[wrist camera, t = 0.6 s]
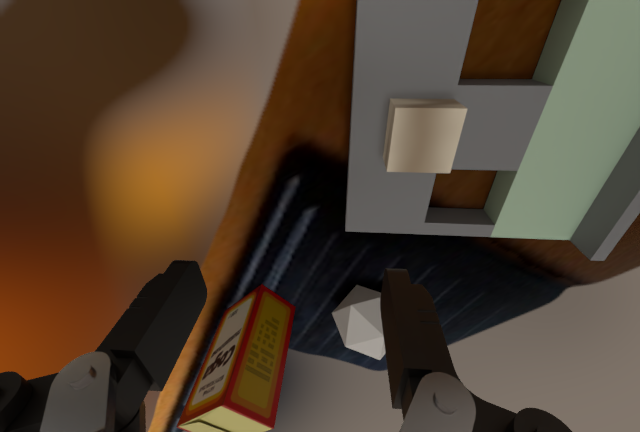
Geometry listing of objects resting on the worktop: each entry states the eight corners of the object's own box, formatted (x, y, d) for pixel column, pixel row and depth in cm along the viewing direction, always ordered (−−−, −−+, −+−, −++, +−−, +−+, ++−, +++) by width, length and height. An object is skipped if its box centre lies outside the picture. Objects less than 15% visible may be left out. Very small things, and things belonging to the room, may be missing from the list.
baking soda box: (261, 284, 41) (221, 409, 28) (295, 307, 43) (273, 432, 30) (224, 311, 45) (174, 431, 32) (257, 330, 47) (223, 449, 34)
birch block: (454, 99, 23) (467, 108, 20) (439, 158, 25) (449, 173, 23) (390, 98, 23) (395, 107, 20) (382, 157, 26) (386, 171, 23)
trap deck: (717, -43, 19) (846, -65, 14) (563, 223, 32) (603, 260, 27) (358, -35, 21) (362, -53, 16) (345, 215, 33) (345, 249, 28)
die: (390, 315, 44) (427, 344, 34) (342, 347, 42) (368, 386, 33) (366, 269, 43) (399, 286, 33) (317, 300, 41) (336, 327, 32)
